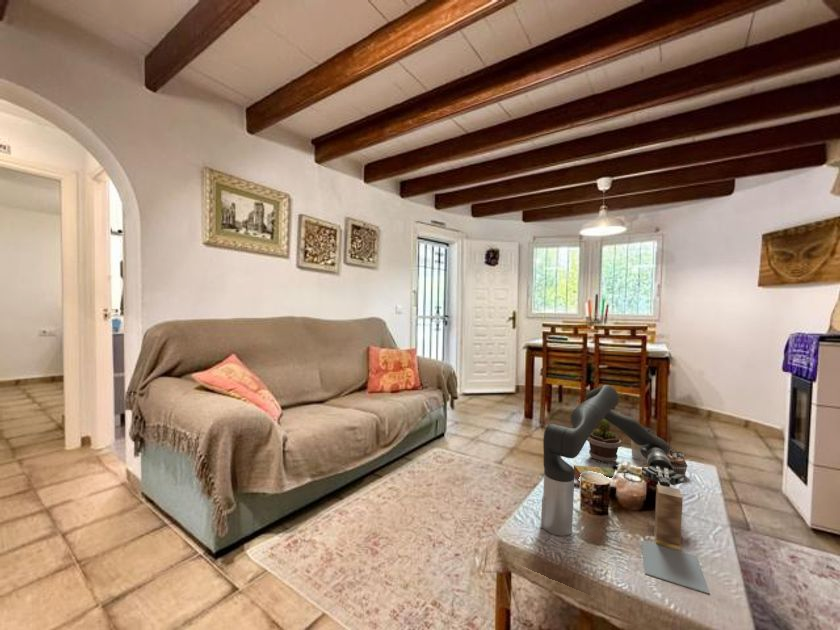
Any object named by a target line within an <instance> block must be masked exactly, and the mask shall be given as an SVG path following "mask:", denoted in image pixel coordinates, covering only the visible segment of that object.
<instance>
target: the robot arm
mask: <svg viewBox="0 0 840 630" xmlns="http://www.w3.org/2000/svg"><path fill="white" fill-rule="evenodd" d="M584 399H585V400H584V401H582V402H581V403H580V404H578V405H577V406H576V407H575V408H574V409H573V410H572V412H571V413H570V416H569V419H570V420H569V421H570V425H571V426H572V428H571V427H568V426H563V425H559V424H554V423H549V424H548V425H547V426H546V427H545V429H544V432H543V439H542V440H543V446H542V447H543V469H544V471H543V489H542V490H543V493H542V495H543V496H542V498H541V513H540V528H542V529H544V530H545V531H547V532H549V533H550V534H552V535H556V536H559V537H562V536H563V537H564V536H565V537H566V536H569V535H570V534H572V532H573V526H574V525H573V524H574V523H573V519H574V518H573V517H574V501H575V500H574V496H575V495H574V493H575V478H576V476H575V471H574V466H572V465H571V464H569V463H568V462H566V460H564V459H563V458H567V459H575V458H576V457H577V456H579V454H580V452H582V449H583V448H584V446H585V444H586V443H587V439H588V437H589V436H590V435H591V433H592V432H593V431H596V430H597V429H598V428H599V427H598V426H599V424H600V423H601V421H602V420H603V419H606V420H607V421H609V422H610V424H611V425H613V426H614V427H616V428H618V429H619V430H620V431H622V432H623V434H625V435H626V436H627V437H628V438H629V439H630V441H631V440H632V441H634V442H635V443H636V444H637V445H643V446H642V447H641V449H640V451H641V454H642V455H643V456H644V458H646V459H647V460H646V465H647V467H645V466H641V475H643V476H644V477H646V478H648V479H649V480H651V481H653V482H658V485H662V486H667V487H671V486H676V485H680V484H682V483H683V484H684V478H685V476H684V475H682V474H679V475H678V474H676V473H675V472H674V471H673V468H672V466H671V463H670V460H669V459H668V457H667V454H668V453H669V452H670V450H671V447H670V445H669V444H668V442H667V441H665V440H664V439H662V438H661V437H659V436H657V435H655V434H653V433H652V434H651V433H650V432H648V431H647V430H646V429H645V428H644V427H643V426H644V425H642V424H641V423H640V422H638V421H637V420H635V419H634V418H632V417H629V416H626V415H623V414H620V413H618V412H615V411H613V409H614V408H616V407H618V405H619V402H620V397H619V393H618V392H617V390H616V388H614V387H613V386H611V385H609V384H604V385H603V384H602V385H600V386H598V387H596V388H593V389H592V390H590V391H588V392H587V393H585V398H584ZM562 457H563V458H562Z"/></svg>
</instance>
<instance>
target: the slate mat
mask: <svg viewBox="0 0 840 630" xmlns="http://www.w3.org/2000/svg"><path fill="white" fill-rule="evenodd" d="M640 542H641V551H642V556H643V557H642V558H643V566H644V567H643V568H644V574H645V575H647V576H650V577H654V578H655V579H656V578H657V579H659V580H663V581H666V582H670V583H672V584H674V585H679V586H682V587H685V588H688V589H691V590H694V591H698V592H701V593H704V594H707V595H711V594H710V593H711V592H710V589H709V587H708V584H707V580H706V579H705V575H704V572H703V570H702V566H701V564H700V561H699V557H698V555H695V554H692V553H688V552H685V551H680V550H677V549H673V548H669V547H666V546H662V545H659V544H656V543H652V542H649V541H645V540H641V541H640Z"/></svg>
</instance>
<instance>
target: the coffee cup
mask: <svg viewBox="0 0 840 630" xmlns="http://www.w3.org/2000/svg"><path fill="white" fill-rule="evenodd" d="M642 426H643V427H644V428H645V429H646V430H647V431H648V432H650V433H651V434H653V431H652V430H651V428H649V427H647V426H645V425H642ZM630 444H631V445H630V447H631V457H633V458H635V459H636V460H642V461H647V459H646V458H644V456H643V455H642V454H641V451H640V449H641V447H642V446H643V445H637V444H636V443H635V442H634V441H632V440H631V439H630Z"/></svg>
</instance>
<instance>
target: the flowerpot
mask: <svg viewBox="0 0 840 630" xmlns="http://www.w3.org/2000/svg"><path fill="white" fill-rule="evenodd" d="M597 428H598V429H595V430H594V431H593V432H592V433H591V435H590V436H589V437H588V439H587V440H586V442H588V443H589V444H588V446H589V449H588V450H589V451H588V453H589V455H590V457H591V458H592V460H593V461H596V462H598V463H601V464H602V463H604V464H608V463H609V464H614V463H615V461H617V459H618V454H617V453H618V450H619V448H620V447H621V446H622V444H623V443H622V440H621V439H620V437H619V436H618V435H616V434H615V433H614V432H612V431H611V430H612V426H611V423H610V422H609V421H607V420H606V419H603V420H602V421H601V423H600V424H599V425H598V427H597Z"/></svg>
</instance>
